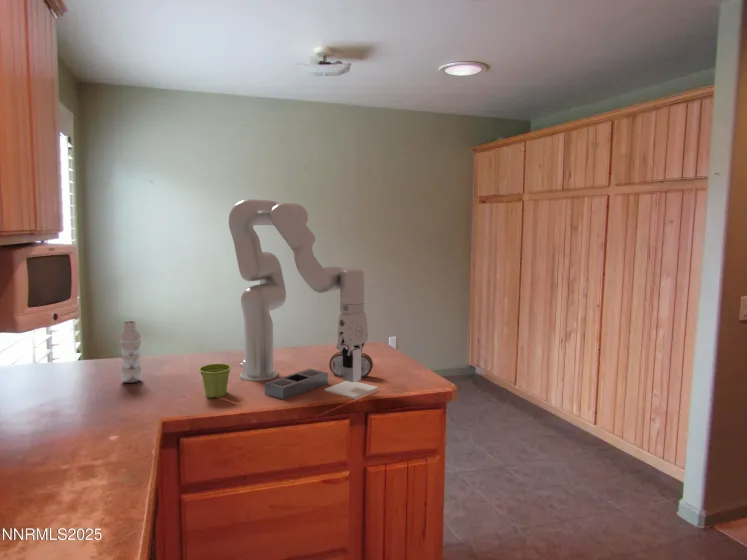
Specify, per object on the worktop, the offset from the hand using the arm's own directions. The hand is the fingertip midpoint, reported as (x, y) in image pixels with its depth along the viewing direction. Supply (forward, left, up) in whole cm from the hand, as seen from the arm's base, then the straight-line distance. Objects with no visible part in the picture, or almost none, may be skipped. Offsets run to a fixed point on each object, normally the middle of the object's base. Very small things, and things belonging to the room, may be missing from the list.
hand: (352, 365), depth 169 cm
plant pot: (-30, -29, -9) cm, 43 cm away
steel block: (0, 0, -5) cm, 5 cm away
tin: (-10, +12, -9) cm, 18 cm away
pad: (0, 0, -8) cm, 8 cm away
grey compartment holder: (-14, -10, -8) cm, 19 cm away
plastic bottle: (-62, -38, -9) cm, 73 cm away
